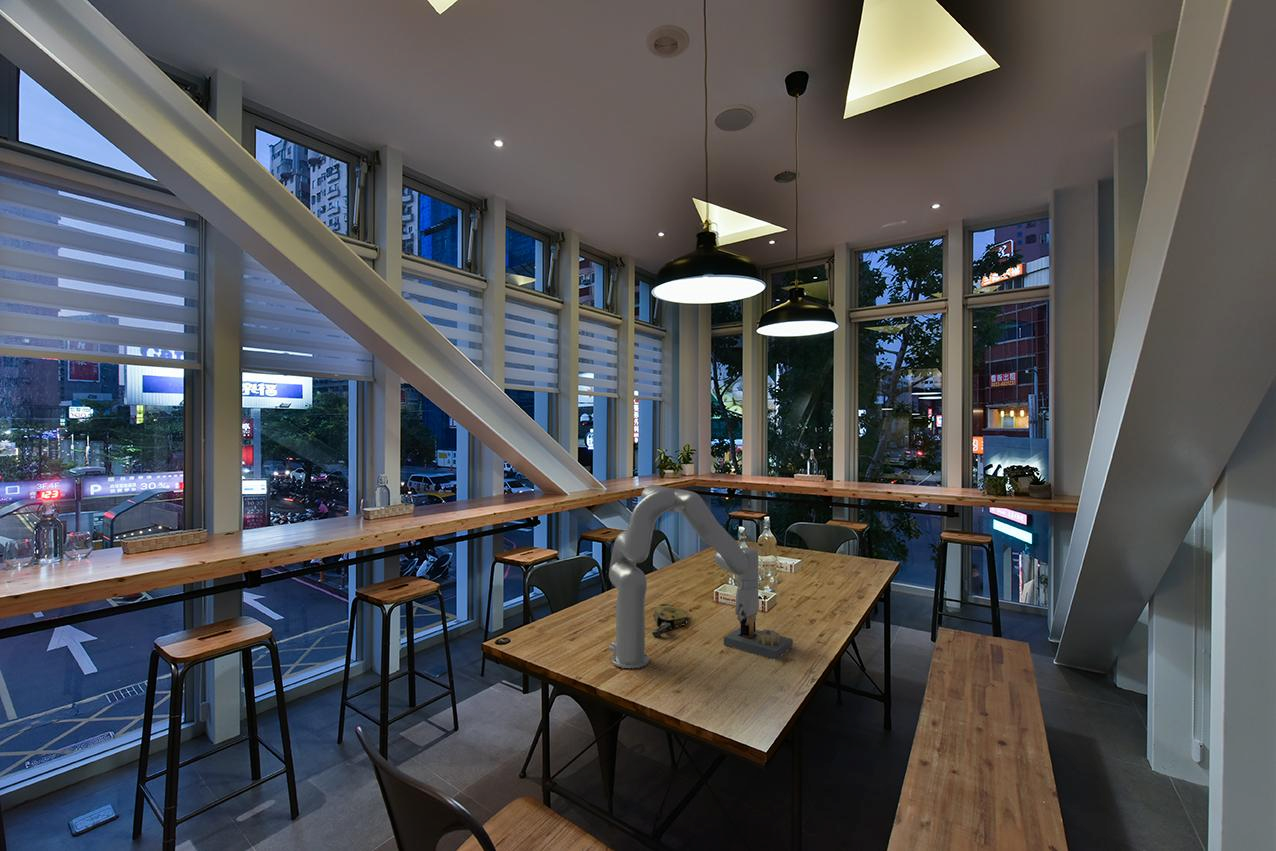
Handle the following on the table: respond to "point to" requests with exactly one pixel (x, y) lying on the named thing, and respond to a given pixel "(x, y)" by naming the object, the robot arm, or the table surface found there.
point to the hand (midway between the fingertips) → (748, 632)
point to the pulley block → (668, 618)
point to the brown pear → (750, 626)
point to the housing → (760, 643)
